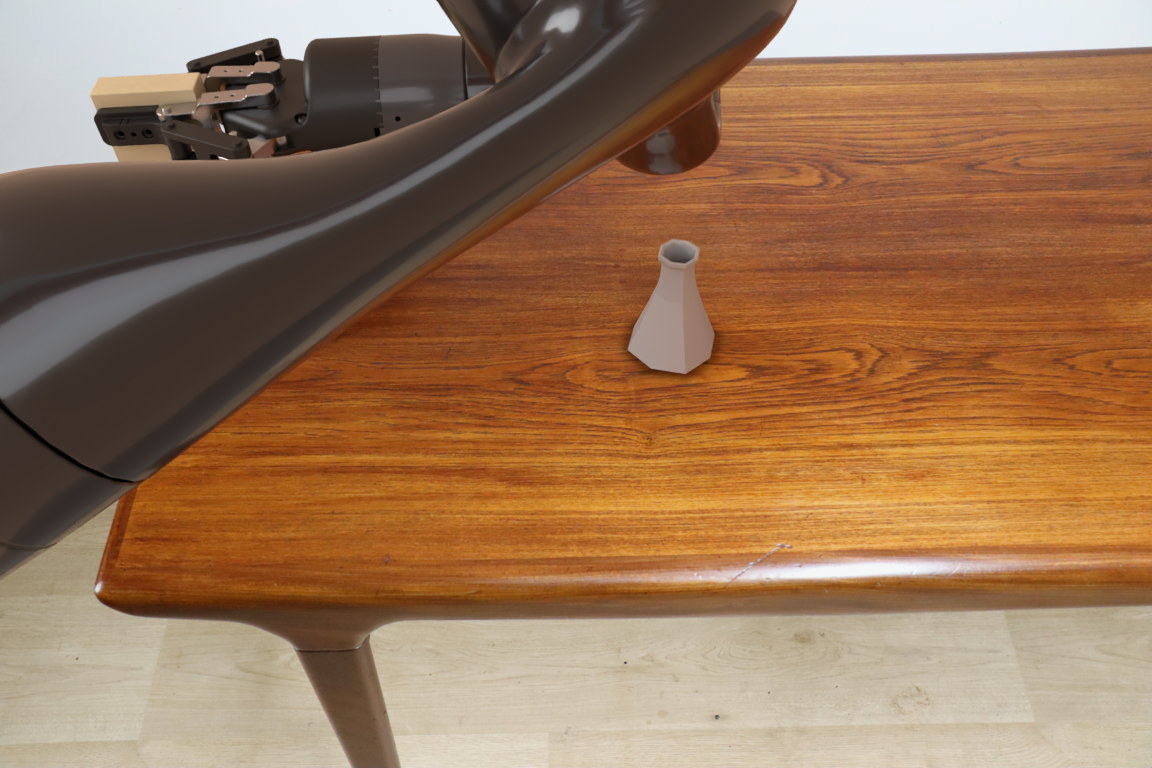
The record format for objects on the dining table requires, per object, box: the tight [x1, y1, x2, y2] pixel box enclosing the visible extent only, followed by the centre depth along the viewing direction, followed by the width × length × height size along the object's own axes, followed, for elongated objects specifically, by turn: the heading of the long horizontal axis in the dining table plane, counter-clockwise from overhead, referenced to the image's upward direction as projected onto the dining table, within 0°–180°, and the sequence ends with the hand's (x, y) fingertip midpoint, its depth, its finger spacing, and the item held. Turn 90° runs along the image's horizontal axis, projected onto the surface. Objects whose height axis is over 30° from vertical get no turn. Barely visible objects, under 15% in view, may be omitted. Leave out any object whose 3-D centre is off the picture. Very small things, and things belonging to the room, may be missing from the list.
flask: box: [627, 238, 716, 375], centre depth 76 cm, size 7×7×10 cm
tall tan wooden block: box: [89, 72, 207, 162], centre depth 61 cm, size 6×2×15 cm, turn 94°
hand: (106, 115), depth 57 cm, fingers closed on tall tan wooden block, 2 cm apart
